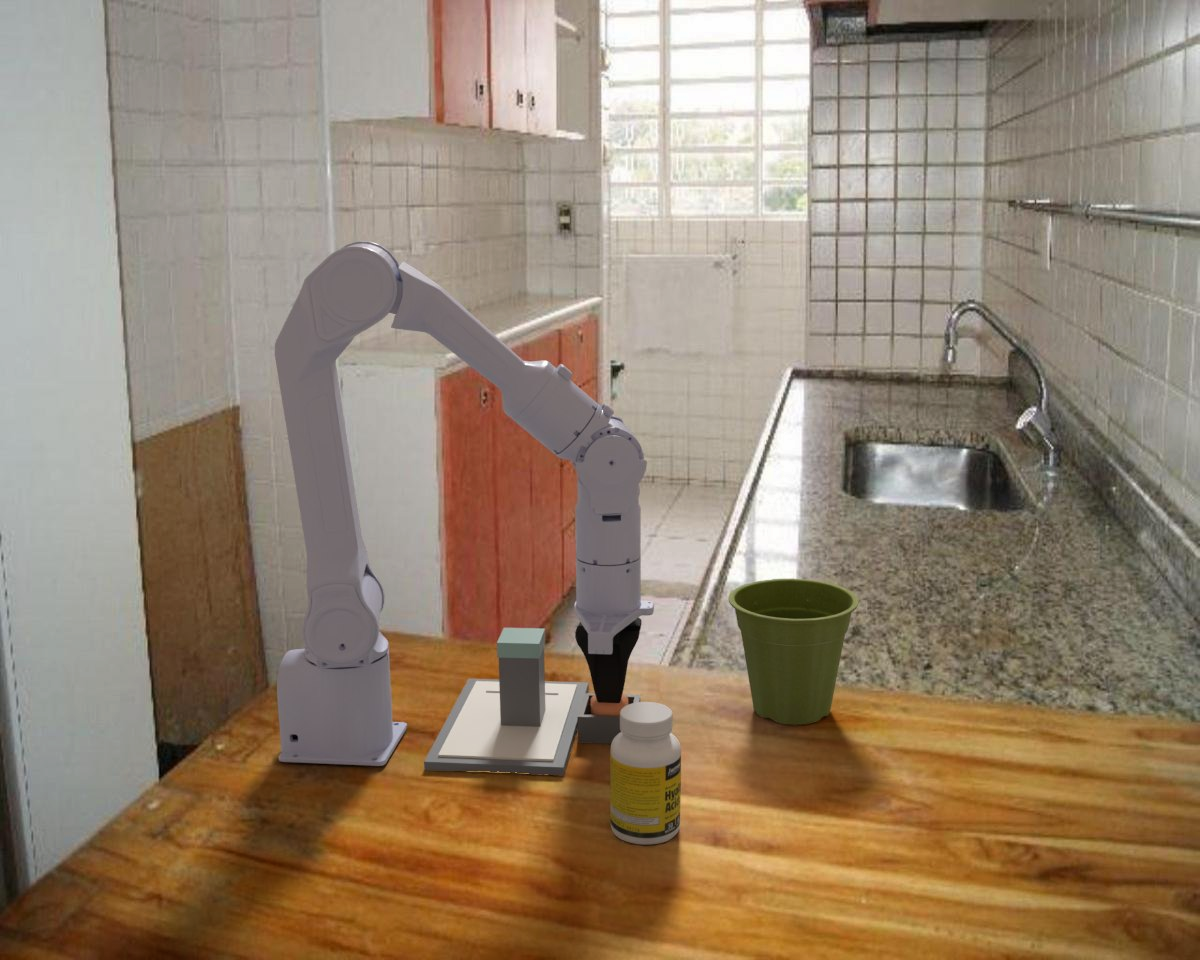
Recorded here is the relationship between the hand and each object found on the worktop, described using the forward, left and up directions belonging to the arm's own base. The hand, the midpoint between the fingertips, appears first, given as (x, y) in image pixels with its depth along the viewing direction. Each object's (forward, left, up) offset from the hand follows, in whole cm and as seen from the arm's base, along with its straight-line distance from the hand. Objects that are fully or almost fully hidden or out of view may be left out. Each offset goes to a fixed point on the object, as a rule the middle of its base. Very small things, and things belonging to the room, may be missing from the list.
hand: (609, 699), depth 111 cm
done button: (0, 0, -2) cm, 2 cm away
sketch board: (-9, 0, -3) cm, 10 cm away
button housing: (0, 0, -3) cm, 3 cm away
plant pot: (+17, +6, -3) cm, 18 cm away
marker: (-8, 0, -2) cm, 8 cm away
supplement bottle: (+5, -17, -3) cm, 18 cm away
